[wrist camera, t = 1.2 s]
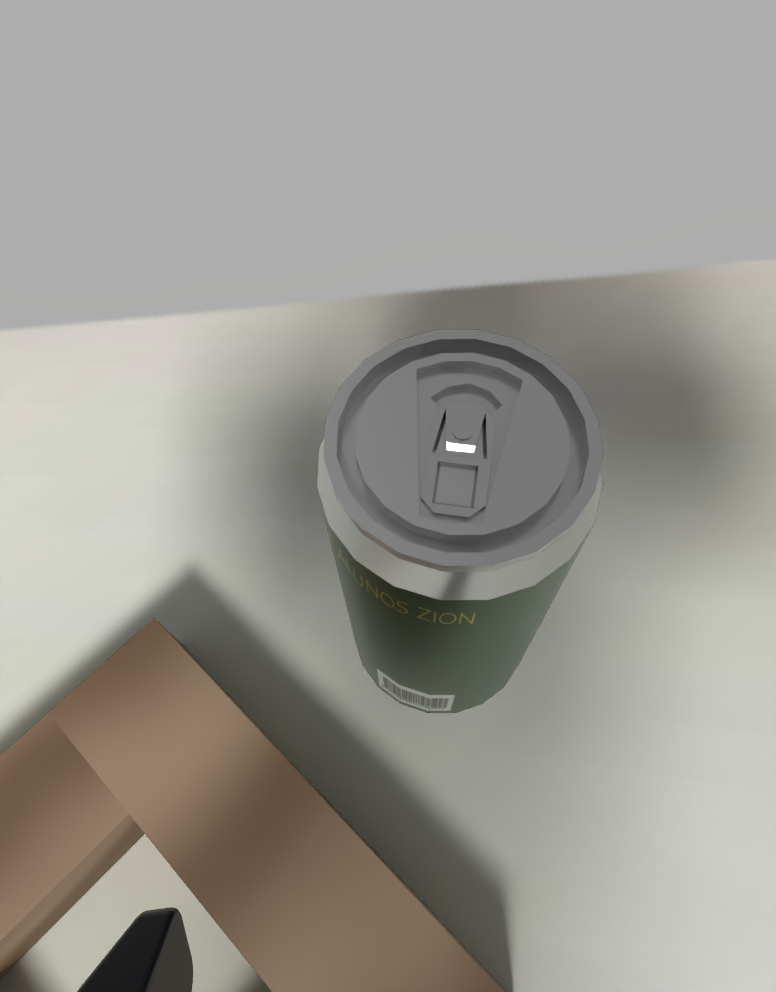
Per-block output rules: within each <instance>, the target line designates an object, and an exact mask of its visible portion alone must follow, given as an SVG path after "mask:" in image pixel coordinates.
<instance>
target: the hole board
mask: <svg viewBox="0 0 776 992" xmlns="http://www.w3.org/2000/svg"><path fill="white" fill-rule="evenodd" d="M144 834H146V836H147V837H148V838H149V839H150V841H151V842H152V843H153V844H154V846H155V847H156V848H157V849H158V850H159V852H160V853H161V854H162V855H163V857H164V858H165V859H166V860H167V862H168V863H169V864H170V865H171V867H172V868H173V869H174V870H175V872H176V873H177V874H178V875H179V877H180V878H181V879H182V880H183V882H184V883H185V884H186V885H187V887H188V888H189V889H190V890H191V892H192V893H193V894H194V895H195V897H196V898H197V899H198V900H199V902H200V903H201V904H202V905H203V907H204V908H205V909H206V910H207V912H208V913H209V914H210V915H211V917H212V918H213V919H214V920H215V922H216V923H217V924H218V925H219V927H220V928H221V929H222V930H223V931H224V933H225V934H226V935H227V936H228V938H229V939H230V940H231V941H232V943H233V944H234V945H235V946H236V948H237V949H238V950H239V951H240V953H241V954H242V955H243V956H244V958H245V959H246V960H247V961H248V963H249V964H250V965H251V966H252V968H253V969H254V970H255V971H256V973H257V974H258V975H259V976H260V978H261V979H262V980H263V981H264V983H265V984H266V985H267V986H268V988H269V989H270V990H271V991H272V992H505V990H504V989H503V988H502V987H501V986H500V985H499V984H498V983H497V982H496V981H495V980H494V979H493V978H492V977H491V975H490V974H489V973H488V972H487V971H486V970H485V969H484V968H483V967H482V966H481V965H480V964H479V963H478V962H477V960H476V959H475V958H474V957H473V956H472V955H471V954H470V953H469V952H468V951H467V950H466V949H465V948H464V947H463V945H462V944H461V943H460V942H459V941H458V940H457V939H456V938H455V937H454V936H453V935H452V934H451V933H450V932H449V930H448V929H447V928H446V927H445V926H444V925H443V924H442V923H441V922H440V921H439V920H438V919H437V918H436V917H435V915H434V914H433V913H432V912H431V911H430V910H429V909H428V908H427V907H426V906H425V905H424V904H423V903H422V902H421V900H420V899H419V898H418V897H417V896H416V895H415V894H414V893H413V892H412V891H411V890H410V889H409V888H408V887H407V885H406V884H405V883H404V882H403V881H402V880H401V879H400V878H399V877H398V876H397V875H396V874H395V873H394V872H393V870H392V869H391V868H390V867H389V866H388V865H387V864H386V863H385V862H384V861H383V860H382V859H381V858H380V857H379V855H378V854H377V853H376V852H375V851H374V850H373V849H372V848H371V847H370V846H369V845H368V844H367V843H366V842H365V840H364V839H363V838H362V837H361V836H360V835H359V834H358V833H357V832H356V831H355V830H354V829H353V828H352V827H351V825H350V824H349V823H348V822H347V821H346V820H345V819H344V818H343V817H342V816H341V815H340V814H339V813H338V812H337V810H336V809H335V808H334V807H333V806H332V805H331V804H330V803H329V802H328V801H327V800H326V799H325V798H324V797H323V795H322V794H321V793H320V792H319V791H318V790H317V789H316V788H315V787H314V786H313V785H312V784H311V783H310V782H309V780H308V779H307V778H306V777H305V776H304V775H303V774H302V773H301V772H300V771H299V770H298V769H297V768H296V767H295V765H294V764H293V763H292V762H291V761H290V760H289V759H288V758H287V757H286V756H285V755H284V754H283V753H282V752H281V750H280V749H279V748H278V747H277V746H276V745H275V744H274V743H273V742H272V741H271V740H270V739H269V738H268V737H267V735H266V734H265V733H264V732H263V731H262V730H261V729H260V728H259V727H258V726H257V725H256V724H255V723H254V722H253V720H252V719H251V718H250V717H249V716H248V715H247V714H246V713H245V712H244V711H243V710H242V709H241V708H240V707H239V705H238V704H237V703H236V702H235V701H234V700H233V699H232V698H231V697H230V696H229V695H228V694H227V693H226V692H225V690H224V689H223V688H222V687H221V686H220V685H219V684H218V683H217V682H216V681H215V680H214V679H213V678H212V677H211V675H210V674H209V673H208V672H207V671H206V670H205V669H204V668H203V667H202V666H201V665H200V664H199V663H198V662H197V660H196V659H195V658H194V657H193V656H192V655H191V654H190V653H189V652H188V651H187V650H186V649H185V648H184V647H183V645H182V644H181V643H180V642H179V641H178V640H177V639H176V638H175V637H174V636H173V635H171V634H170V633H169V632H168V631H167V630H166V629H165V628H164V627H163V626H162V625H161V624H160V623H159V622H158V621H157V620H156V619H155V618H154V619H153V620H152V621H150V622H149V623H148V624H147V625H146V626H145V627H144V628H143V629H141V630H140V631H139V632H138V633H137V634H136V635H135V636H134V637H133V638H131V639H130V640H129V641H128V642H127V643H126V644H125V645H124V646H122V647H121V648H120V649H119V650H118V651H117V652H116V653H115V654H113V655H112V656H111V657H110V658H109V659H108V660H107V661H106V662H105V663H103V664H102V665H101V666H100V667H99V668H98V669H97V670H96V671H94V672H93V673H92V674H91V675H90V676H89V677H88V678H87V679H85V680H84V681H83V682H82V683H81V684H80V685H79V686H78V687H77V688H75V689H74V690H73V691H72V692H71V693H70V694H69V695H68V696H66V697H65V698H64V699H63V700H62V701H61V702H60V703H59V704H57V705H56V706H55V707H54V708H53V709H52V710H51V711H50V712H48V713H47V714H46V715H45V716H44V717H43V718H42V719H41V720H40V721H38V722H37V723H36V724H35V725H34V726H33V727H32V728H31V729H29V730H28V731H27V732H26V733H25V734H24V735H23V736H22V737H20V738H19V739H18V740H17V741H16V742H15V743H14V744H13V745H12V746H10V747H9V748H8V749H7V750H6V751H5V752H4V753H3V754H1V755H0V979H1V978H2V977H3V976H4V975H5V974H6V973H7V972H8V971H9V970H10V969H11V968H12V967H13V966H14V965H15V964H16V963H17V962H18V961H19V960H20V959H21V958H22V957H23V956H24V955H25V954H26V953H27V952H28V951H29V950H30V949H31V948H32V947H33V946H34V945H35V944H36V943H37V942H38V941H39V939H40V938H41V937H42V936H43V935H44V934H45V933H46V932H47V931H48V930H49V929H50V928H51V927H52V926H53V925H54V924H55V923H56V922H57V921H58V920H59V919H60V918H61V917H62V916H63V915H64V914H65V913H66V912H67V911H68V910H69V909H70V908H71V907H72V906H73V905H74V904H75V903H76V902H77V901H78V900H79V899H80V898H81V897H82V896H83V895H84V894H85V893H86V892H87V891H88V890H89V889H90V888H91V887H92V886H93V885H94V884H95V883H96V882H97V881H98V880H99V879H100V878H101V877H102V876H103V875H104V874H105V873H106V872H107V871H108V870H109V869H110V868H111V867H112V866H113V865H114V864H115V863H116V862H117V861H118V860H119V859H120V858H121V857H122V856H123V855H124V854H125V853H126V852H127V851H128V850H129V849H130V848H131V847H132V846H133V845H134V844H135V843H136V842H137V841H138V840H139V839H140V838H141V837H142V836H143V835H144Z"/></svg>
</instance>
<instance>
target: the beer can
mask: <svg viewBox="0 0 776 992" xmlns="http://www.w3.org/2000/svg"><path fill="white" fill-rule="evenodd" d="M602 458H603V450H602V443H601V437H600V430H599V424H598V417H597V415H596V414H595V412H594V410H593V408H592V406H591V405H590V403H589V401H588V399H587V397H586V395H585V394H584V392H583V390H582V388H581V386H580V384H579V383H578V382H577V381H576V380H575V379H573V378H572V377H571V376H570V375H569V374H568V373H567V372H566V371H565V370H564V369H563V368H562V367H561V366H560V365H559V364H558V363H557V362H556V361H555V360H554V359H552V358H551V357H550V356H548V355H546V354H544V353H542V352H540V351H538V350H537V349H535V348H533V347H531V346H529V345H527V344H525V343H523V342H521V341H519V340H518V339H516V338H511V337H507V336H503V335H499V334H494V333H490V332H486V331H481V330H477V329H463V330H434V331H430V332H427V333H423V334H419V335H416V336H412V337H408V338H405V339H401V340H398V341H396V342H394V343H393V344H391V345H389V346H388V347H386V348H384V349H382V350H381V351H379V352H377V353H376V354H374V355H372V356H371V357H369V358H367V359H365V360H364V361H363V363H362V364H361V365H360V366H359V367H358V368H357V369H356V370H355V371H354V372H353V373H352V375H351V376H350V377H349V378H348V379H347V380H346V381H345V382H344V383H343V384H342V385H341V387H340V388H339V390H338V393H337V395H336V397H335V400H334V402H333V404H332V406H331V409H330V411H329V413H328V416H327V418H326V420H325V436H324V438H323V440H322V443H321V445H320V447H319V460H318V477H317V489H318V493H319V497H320V501H321V505H322V509H323V513H324V517H325V521H326V525H327V529H328V533H329V537H330V541H331V545H332V549H333V553H334V557H335V561H336V565H337V569H338V573H339V577H340V581H341V585H342V589H343V593H344V597H345V601H346V606H347V610H348V614H349V618H350V622H351V626H352V630H353V634H354V638H355V641H356V645H357V648H358V651H359V655H360V658H361V661H362V664H363V666H364V668H365V669H366V670H367V672H368V673H369V675H370V676H371V677H372V679H373V680H374V682H375V683H376V685H377V686H378V687H379V688H380V689H381V690H383V691H384V692H385V693H387V694H388V695H390V696H391V697H392V698H394V699H395V700H396V701H398V702H399V703H400V704H403V705H406V706H409V707H412V708H415V709H418V710H421V711H424V712H427V713H457V712H460V711H463V710H465V709H468V708H471V707H474V706H477V705H480V704H483V703H484V702H485V701H487V700H488V699H489V698H490V697H492V696H493V695H494V694H496V693H497V692H498V691H500V690H501V689H502V688H503V687H504V686H505V685H506V683H507V682H508V680H509V678H510V677H511V675H512V674H513V672H514V671H515V669H516V668H517V666H518V665H519V663H520V661H521V659H522V657H523V655H524V653H525V652H526V650H527V648H528V646H529V644H530V642H531V640H532V639H533V637H534V635H535V633H536V631H537V629H538V627H539V626H540V624H541V622H542V620H543V618H544V616H545V614H546V612H547V611H548V609H549V607H550V605H551V603H552V601H553V599H554V598H555V596H556V594H557V592H558V590H559V588H560V586H561V584H562V583H563V581H564V579H565V577H566V575H567V573H568V571H569V570H570V568H571V566H572V564H573V562H574V560H575V558H576V556H577V555H578V553H579V551H580V549H581V547H582V545H583V543H584V542H585V540H586V538H587V536H588V534H589V532H590V530H591V529H592V527H593V525H594V522H595V518H596V513H597V509H598V504H599V500H600V495H601V491H602V486H603V481H602V474H601V468H600V467H601V463H602Z"/></svg>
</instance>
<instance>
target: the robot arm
mask: <svg viewBox="0 0 776 992" xmlns="http://www.w3.org/2000/svg"><path fill="white" fill-rule="evenodd" d="M192 983H193V964H192V957H191V953H190V949H189V945H188V941H187V937H186V933H185V928H184V924H183V920H182V917H181V914H180V912H179V911H178V909H176V908H164V909H156V910H149V911H145V912H143V913H141V914H140V915H139V916H138V917H137V918H136V919H135V920H134V922H133V923H132V924H131V925H130V927H129V928H128V929H127V930H126V931H125V933H124V934H123V935H122V936H121V938H120V939H119V940H118V941H117V943H116V944H115V945H114V946H113V948H112V949H111V950H110V951H109V953H108V954H107V955H106V956H105V958H104V959H103V960H102V961H101V962H100V964H99V965H98V966H97V967H96V969H95V970H94V971H93V972H92V974H91V975H90V976H89V977H88V979H87V980H86V981H85V982H84V984H83V985H82V986H81V987H80V988H79V990H78V991H77V992H192Z"/></svg>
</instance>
